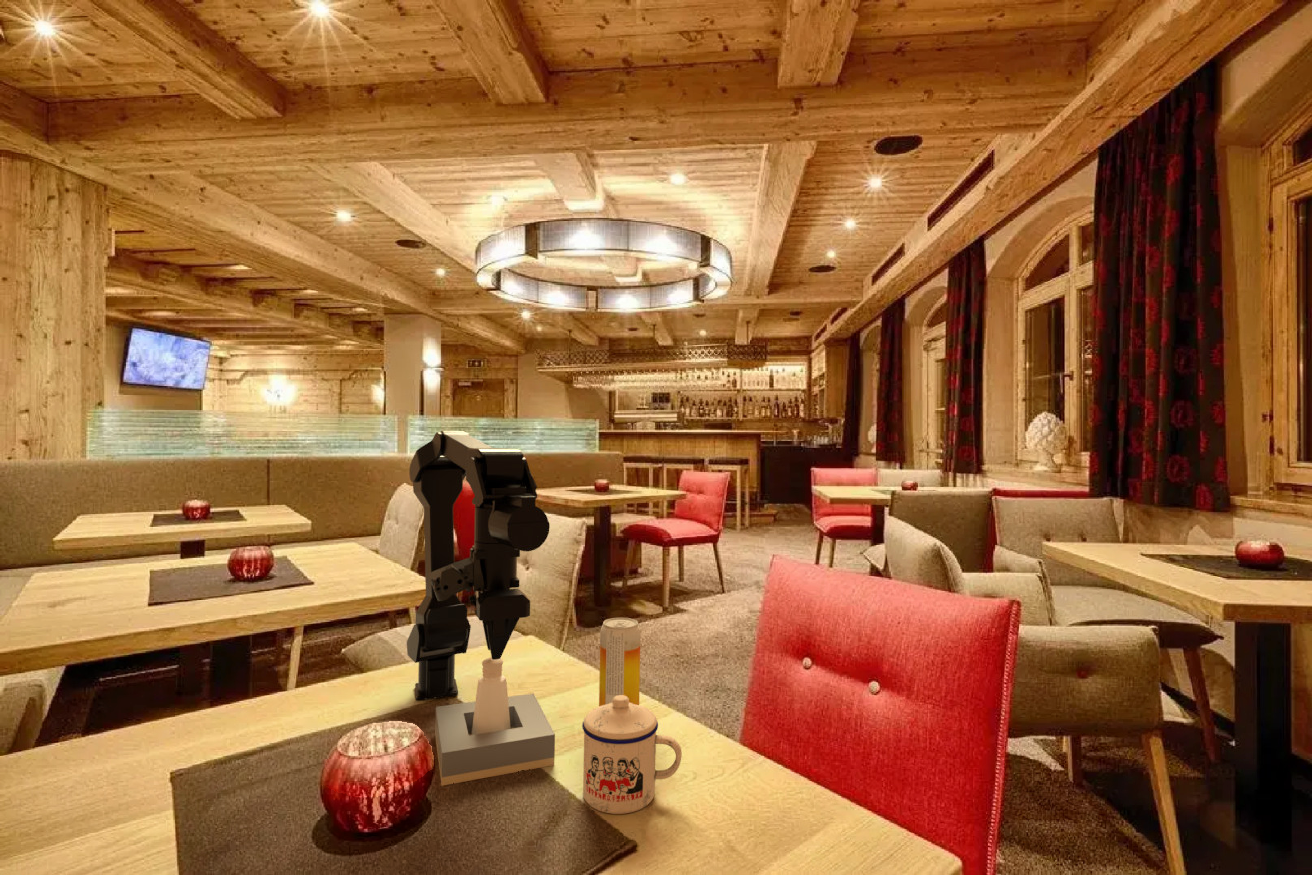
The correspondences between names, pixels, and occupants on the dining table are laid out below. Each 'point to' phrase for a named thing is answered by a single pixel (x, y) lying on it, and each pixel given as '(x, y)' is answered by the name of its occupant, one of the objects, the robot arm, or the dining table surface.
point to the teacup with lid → (622, 756)
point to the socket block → (492, 742)
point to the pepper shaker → (491, 699)
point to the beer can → (619, 660)
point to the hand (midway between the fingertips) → (493, 654)
